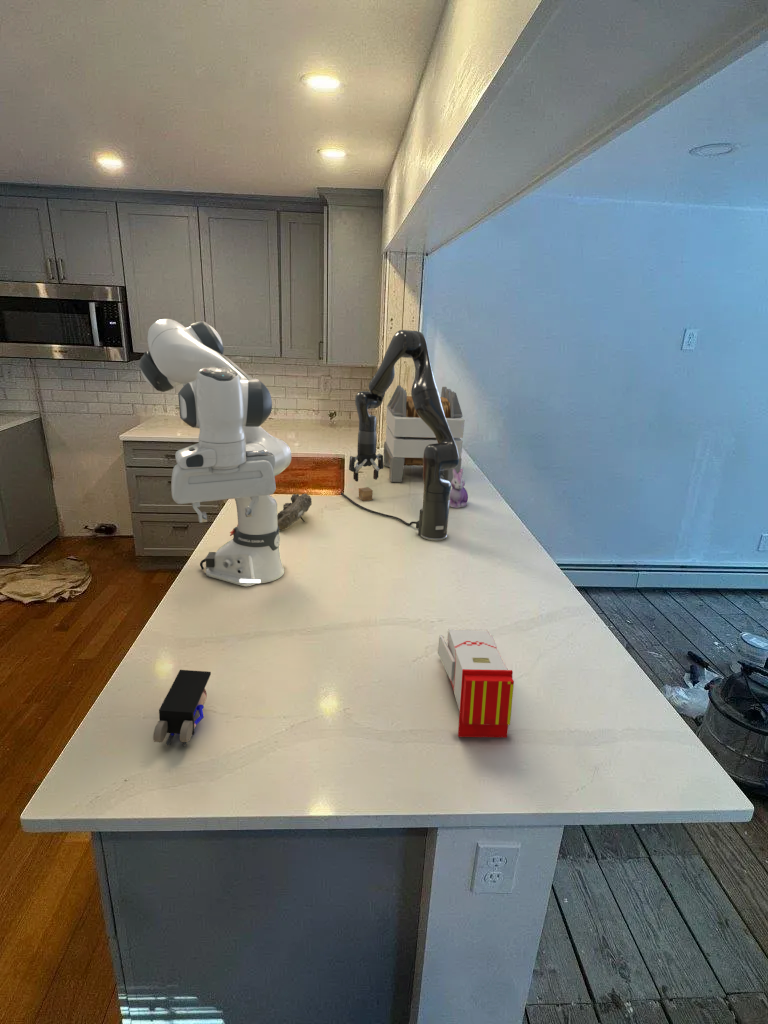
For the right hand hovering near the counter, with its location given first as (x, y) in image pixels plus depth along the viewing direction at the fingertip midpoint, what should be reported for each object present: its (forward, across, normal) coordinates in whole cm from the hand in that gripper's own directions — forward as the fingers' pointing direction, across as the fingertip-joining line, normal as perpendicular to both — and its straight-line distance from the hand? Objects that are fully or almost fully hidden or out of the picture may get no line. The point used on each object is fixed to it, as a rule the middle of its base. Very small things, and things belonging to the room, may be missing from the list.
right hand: (365, 480), depth 232 cm
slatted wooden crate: (+8, -41, -27) cm, 50 cm away
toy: (+8, +32, +122) cm, 127 cm away
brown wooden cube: (+8, 0, 0) cm, 8 cm away
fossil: (+8, +36, +15) cm, 39 cm away
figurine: (+8, -33, +20) cm, 39 cm away
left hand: (-25, +74, +91) cm, 120 cm away
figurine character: (+8, +87, +110) cm, 140 cm away
